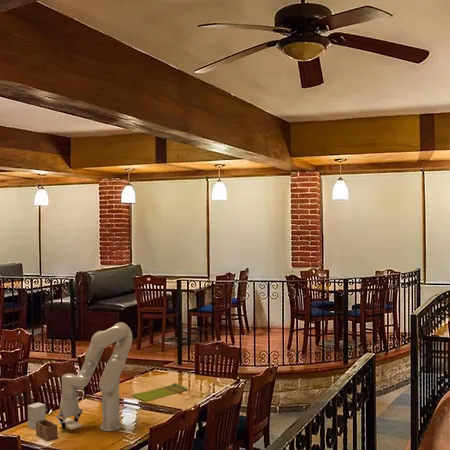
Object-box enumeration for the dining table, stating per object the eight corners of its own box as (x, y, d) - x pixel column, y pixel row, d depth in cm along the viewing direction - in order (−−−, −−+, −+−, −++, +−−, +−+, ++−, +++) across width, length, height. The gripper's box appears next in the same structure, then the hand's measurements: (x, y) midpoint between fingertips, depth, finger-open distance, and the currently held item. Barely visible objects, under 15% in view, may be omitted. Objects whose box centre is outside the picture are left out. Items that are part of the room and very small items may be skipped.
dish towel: (188, 391, 390) (188, 386, 390) (144, 402, 367) (144, 398, 367) (175, 387, 402) (174, 382, 402) (132, 398, 378) (132, 393, 378)
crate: (57, 438, 306) (57, 425, 307) (47, 441, 302) (46, 428, 302) (46, 431, 317) (46, 419, 317) (36, 434, 313) (35, 422, 313)
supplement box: (39, 423, 331) (38, 402, 331) (46, 426, 327) (45, 404, 327) (27, 427, 326) (27, 405, 326) (34, 429, 321) (34, 407, 321)
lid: (81, 427, 316) (81, 423, 316) (70, 430, 312) (70, 427, 312) (69, 421, 327) (69, 417, 327) (58, 424, 323) (58, 420, 323)
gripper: (79, 391, 328) (80, 422, 328) (51, 398, 316) (52, 429, 316) (86, 393, 323) (87, 425, 323) (57, 400, 311) (58, 433, 311)
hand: (70, 427), depth 319 cm, fingers closed on lid, 6 cm apart
